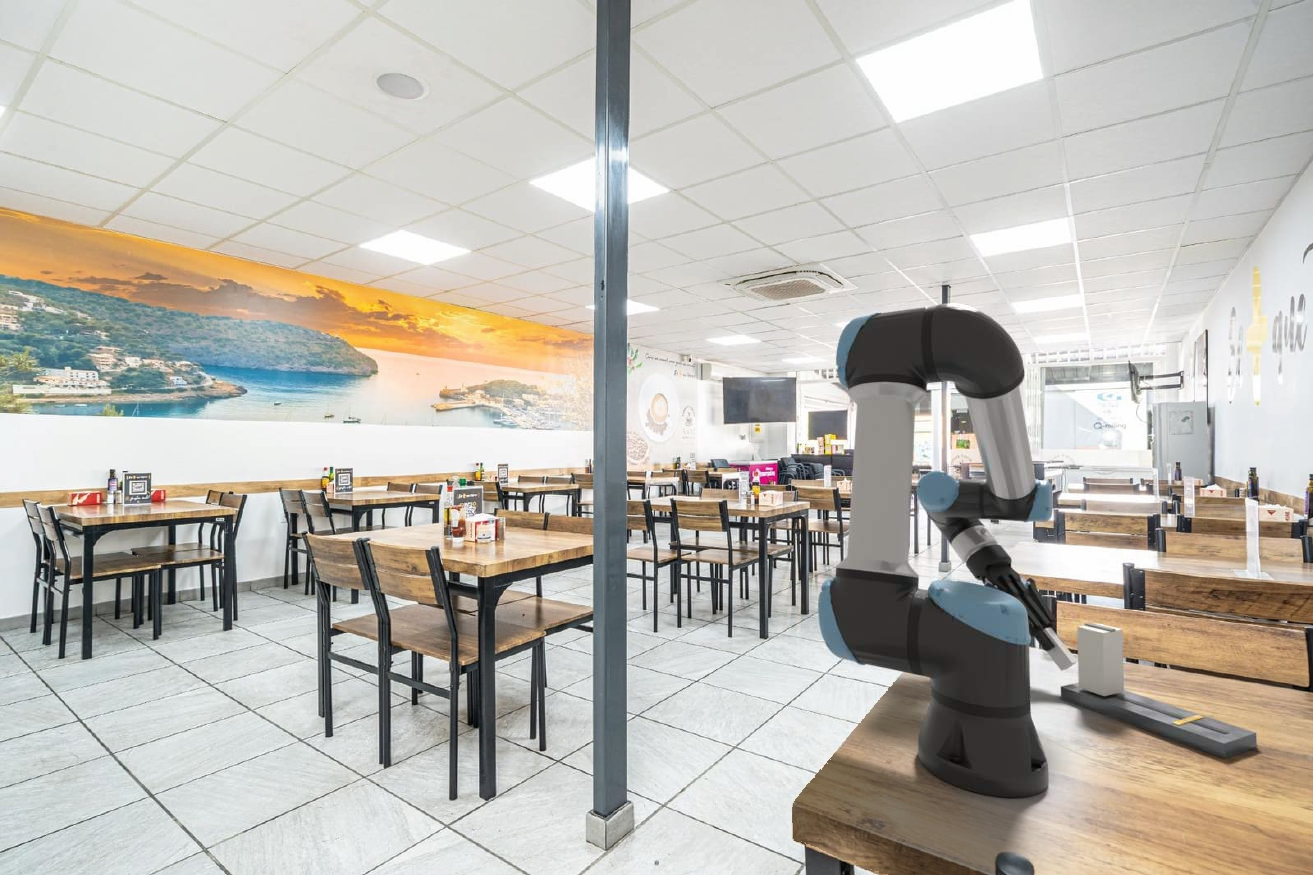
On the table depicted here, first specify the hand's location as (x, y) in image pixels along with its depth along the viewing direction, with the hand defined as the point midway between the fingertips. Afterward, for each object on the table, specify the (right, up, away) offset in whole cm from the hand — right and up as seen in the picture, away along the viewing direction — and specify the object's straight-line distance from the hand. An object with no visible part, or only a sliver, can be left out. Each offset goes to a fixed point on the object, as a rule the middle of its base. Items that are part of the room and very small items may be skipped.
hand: (1069, 666), depth 105 cm
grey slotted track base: (+5, -4, -11) cm, 13 cm away
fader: (+2, -2, -5) cm, 6 cm away
